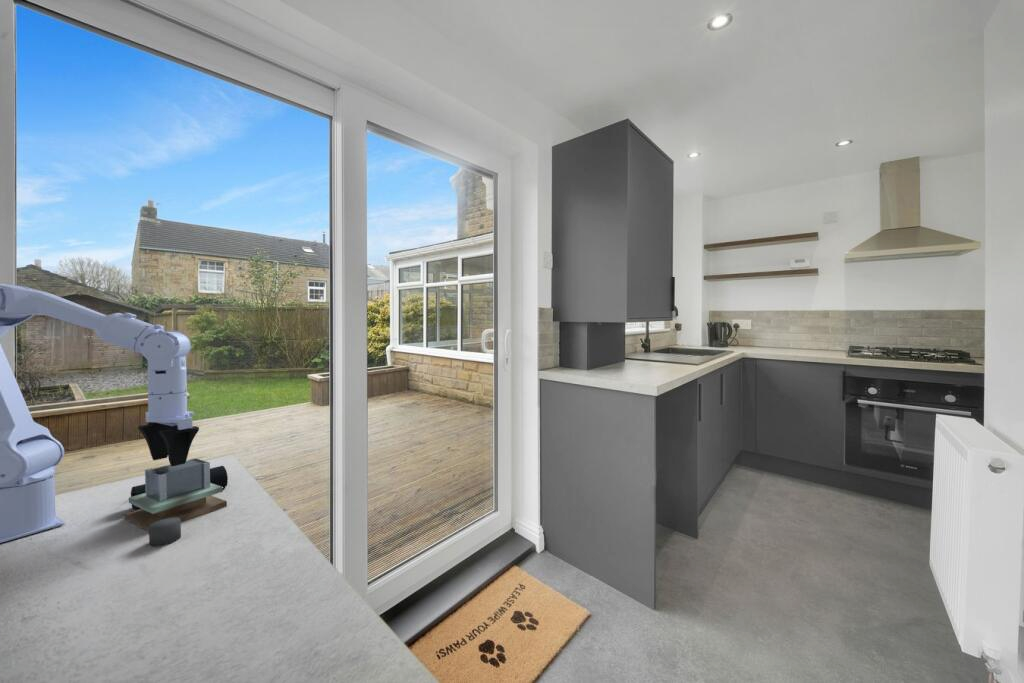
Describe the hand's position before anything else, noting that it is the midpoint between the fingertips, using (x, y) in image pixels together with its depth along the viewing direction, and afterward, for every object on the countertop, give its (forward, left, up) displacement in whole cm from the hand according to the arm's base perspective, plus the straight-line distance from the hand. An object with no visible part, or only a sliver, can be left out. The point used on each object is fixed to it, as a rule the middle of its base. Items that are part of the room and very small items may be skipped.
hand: (169, 461), depth 77 cm
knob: (-5, -13, -10) cm, 17 cm away
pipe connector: (+5, +9, -10) cm, 15 cm away
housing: (+1, -2, -6) cm, 6 cm away
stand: (+1, -2, -10) cm, 10 cm away
